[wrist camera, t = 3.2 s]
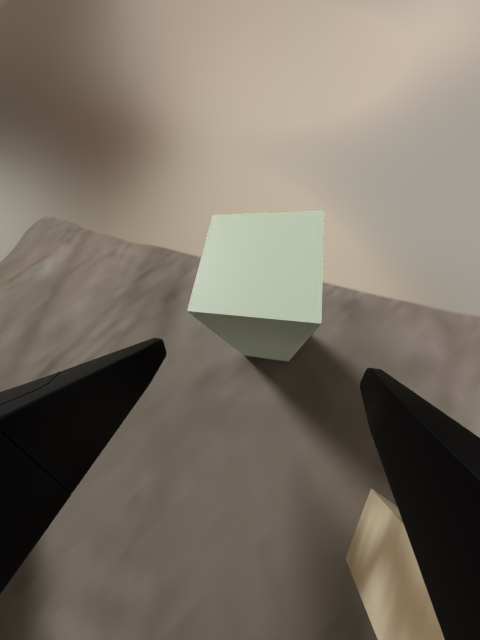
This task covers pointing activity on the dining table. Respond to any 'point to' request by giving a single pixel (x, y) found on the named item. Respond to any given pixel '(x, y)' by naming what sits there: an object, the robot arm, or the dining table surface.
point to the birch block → (390, 575)
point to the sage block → (262, 281)
